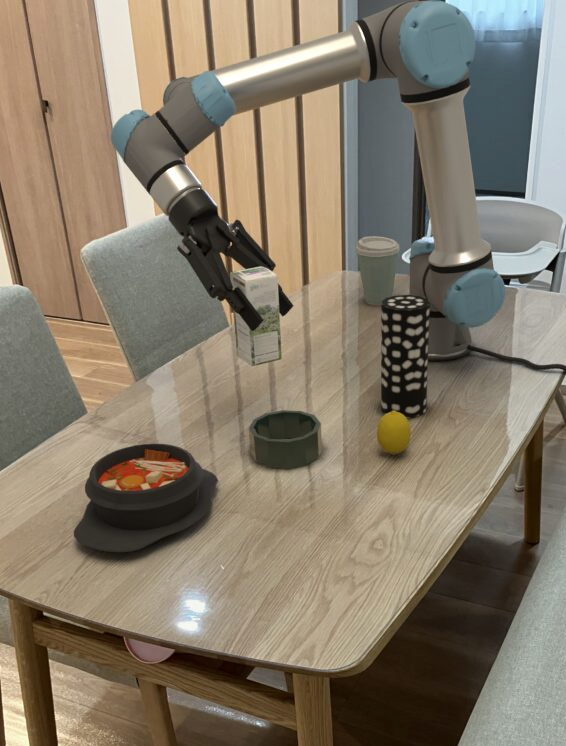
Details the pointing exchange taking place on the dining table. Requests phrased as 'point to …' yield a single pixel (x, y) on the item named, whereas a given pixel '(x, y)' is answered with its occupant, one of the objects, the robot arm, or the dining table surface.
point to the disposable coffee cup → (377, 267)
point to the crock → (285, 452)
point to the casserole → (143, 497)
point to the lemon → (393, 432)
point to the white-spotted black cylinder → (404, 354)
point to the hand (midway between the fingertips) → (273, 318)
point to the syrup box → (265, 299)
